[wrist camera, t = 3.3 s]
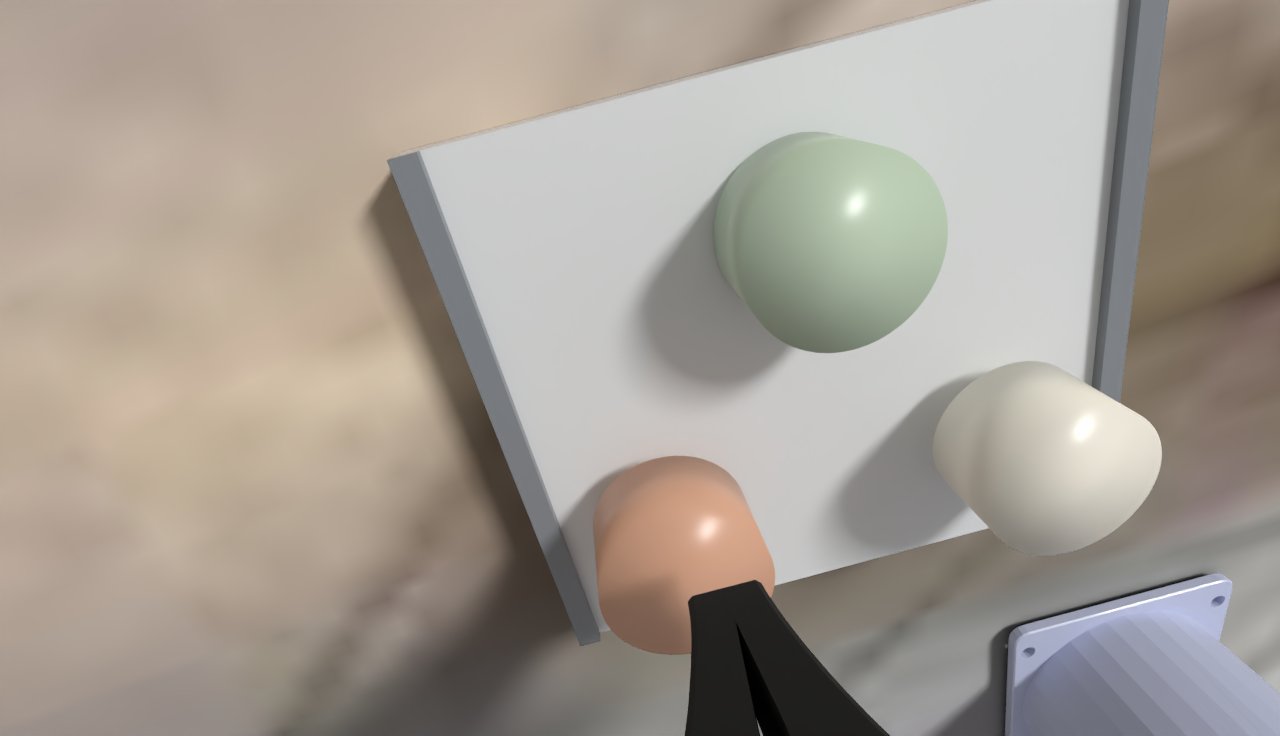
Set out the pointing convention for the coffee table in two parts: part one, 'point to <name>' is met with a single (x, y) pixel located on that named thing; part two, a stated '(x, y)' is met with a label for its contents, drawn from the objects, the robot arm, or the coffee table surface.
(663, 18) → the coffee table surface
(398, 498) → the coffee table surface
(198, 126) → the coffee table surface
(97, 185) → the coffee table surface
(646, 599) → the terracotta button
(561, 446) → the panel
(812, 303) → the sage button
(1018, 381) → the cream button
